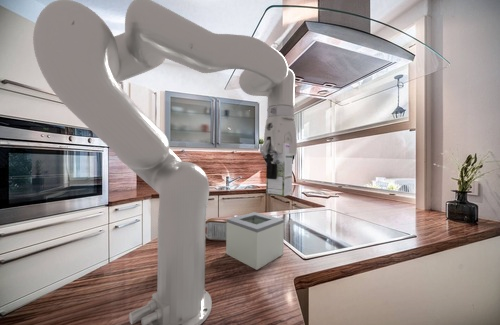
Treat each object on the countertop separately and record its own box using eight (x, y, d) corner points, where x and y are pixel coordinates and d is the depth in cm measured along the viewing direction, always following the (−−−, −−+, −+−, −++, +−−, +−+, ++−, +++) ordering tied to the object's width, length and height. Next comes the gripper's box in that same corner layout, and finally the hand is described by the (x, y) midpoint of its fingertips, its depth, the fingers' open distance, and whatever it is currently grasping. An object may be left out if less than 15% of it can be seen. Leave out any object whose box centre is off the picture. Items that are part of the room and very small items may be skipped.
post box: (256, 269, 57) (257, 229, 57) (226, 253, 67) (226, 219, 67) (283, 254, 68) (283, 219, 68) (253, 242, 77) (254, 211, 77)
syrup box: (292, 194, 56) (293, 143, 56) (284, 196, 51) (285, 141, 51) (274, 192, 59) (275, 144, 59) (265, 194, 55) (266, 142, 55)
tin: (239, 239, 80) (239, 219, 80) (238, 242, 77) (238, 221, 77) (203, 237, 81) (203, 217, 81) (200, 240, 78) (201, 219, 78)
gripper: (271, 106, 47) (270, 181, 47) (307, 118, 59) (306, 177, 59) (249, 111, 52) (248, 178, 52) (287, 121, 64) (285, 176, 64)
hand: (279, 177), depth 55 cm, fingers closed on syrup box, 6 cm apart
